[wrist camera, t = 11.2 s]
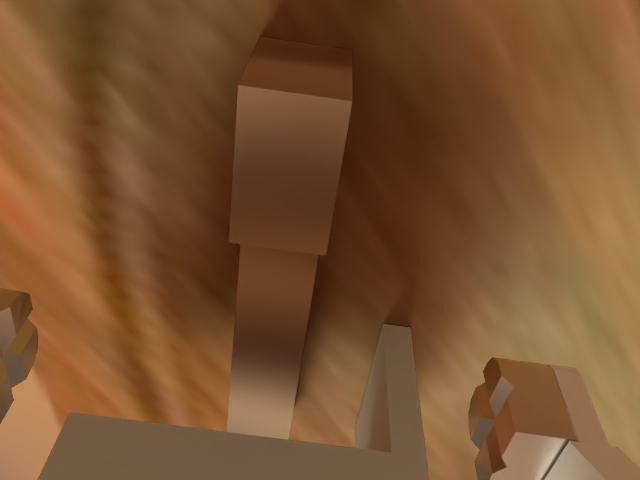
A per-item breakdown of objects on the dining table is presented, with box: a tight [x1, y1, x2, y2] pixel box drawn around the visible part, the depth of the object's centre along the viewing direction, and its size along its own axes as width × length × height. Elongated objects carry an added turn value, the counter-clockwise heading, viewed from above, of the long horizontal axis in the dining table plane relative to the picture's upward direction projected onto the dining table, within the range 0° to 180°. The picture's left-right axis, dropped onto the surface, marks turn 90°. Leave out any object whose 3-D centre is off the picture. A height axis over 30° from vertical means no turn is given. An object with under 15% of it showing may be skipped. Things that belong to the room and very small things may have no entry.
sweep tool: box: [227, 36, 352, 440], centre depth 23 cm, size 18×3×4 cm, turn 172°
